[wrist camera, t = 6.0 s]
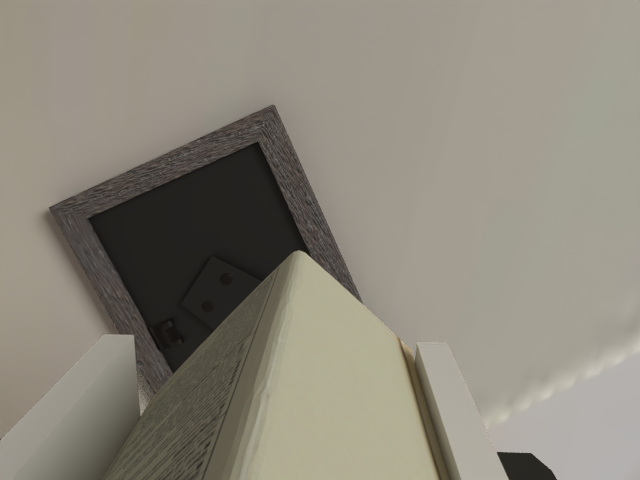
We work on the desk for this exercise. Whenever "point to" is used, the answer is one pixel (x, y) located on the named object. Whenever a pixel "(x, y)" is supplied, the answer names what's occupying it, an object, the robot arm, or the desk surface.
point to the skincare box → (289, 395)
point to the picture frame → (197, 236)
